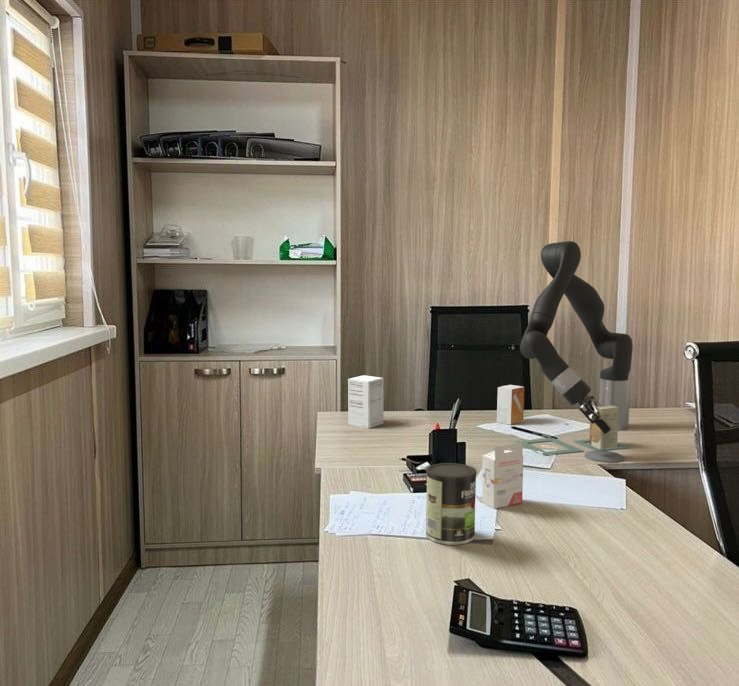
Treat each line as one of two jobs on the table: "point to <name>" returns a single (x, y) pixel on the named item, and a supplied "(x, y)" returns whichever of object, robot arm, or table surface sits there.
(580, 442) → the frame
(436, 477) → the coffee can
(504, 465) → the ink cartridge box
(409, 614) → the table surface
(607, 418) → the skincare box
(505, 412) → the small box
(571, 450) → the frame
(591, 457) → the felt coaster
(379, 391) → the supplement box
